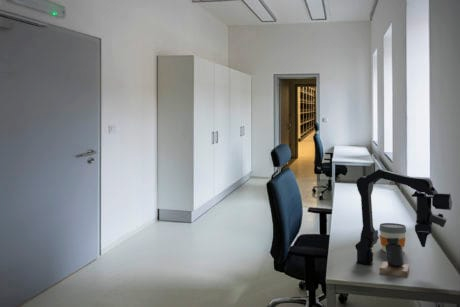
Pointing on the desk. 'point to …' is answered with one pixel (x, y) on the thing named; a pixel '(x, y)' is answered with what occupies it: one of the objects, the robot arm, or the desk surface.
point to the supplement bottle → (394, 252)
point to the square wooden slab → (394, 269)
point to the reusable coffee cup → (392, 233)
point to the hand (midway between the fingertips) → (423, 244)
